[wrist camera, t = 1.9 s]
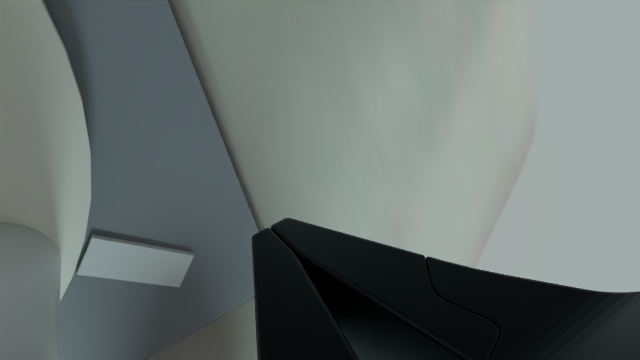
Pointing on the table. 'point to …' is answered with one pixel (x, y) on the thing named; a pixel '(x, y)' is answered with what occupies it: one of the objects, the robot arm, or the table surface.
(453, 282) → the robot arm
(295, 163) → the table surface
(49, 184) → the dial
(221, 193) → the dial board
